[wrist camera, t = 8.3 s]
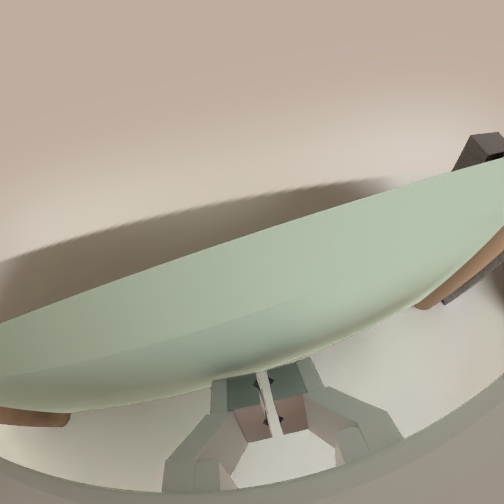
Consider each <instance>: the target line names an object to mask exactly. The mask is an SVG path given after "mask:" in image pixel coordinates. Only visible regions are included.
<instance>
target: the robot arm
mask: <svg viewBox="0 0 504 504" xmlns="http://www.w3.org/2000/svg"><path fill="white" fill-rule="evenodd" d="M267 374H268V379H269V382H270V388H271V392H272V396H273V401H274V404H275V408H276V411H277V415H278V417H279V421H280V425H281V428H282V431H283V434H284V435H285V434H289V433H293V432H298V431H302V430H306V429H309V430H310V431H311V432H313V433H314V434H316V435H317V436H318V437H320V438H321V439H323V440H324V441H325V442H327V443H328V444H330V445H331V446H333V447H334V448H335V456H336V467H334V468H331V469H328V470H325V471H321V472H318V473H314V474H311V475H307V476H303V477H299V478H295V479H291V480H286V481H282V482H277V483H272V484H267V485H261V486H255V487H248V488H241V489H239V488H238V487H237V486H236V484H235V483H234V482H233V480H232V479H231V478H230V476H231V474H232V472H233V470H234V469H235V467H236V465H237V463H238V462H239V460H240V458H241V456H242V454H243V452H244V451H245V449H246V447H247V445H248V443H249V442H254V441H259V440H263V439H267V438H272V432H271V426H270V422H269V419H268V416H267V414H268V411H267V406H266V402H265V398H264V395H263V391H262V389H261V388H260V382H259V379H258V376H257V373H256V372H254V373H249V374H244V375H239V376H234V377H228V378H224V379H218V380H213V381H212V384H211V413H210V414H209V415H206V416H205V417H204V418H203V419H202V421H201V422H200V423H199V424H198V425H197V426H196V428H195V429H194V430H193V431H192V432H191V433H190V434H189V436H188V437H187V438H186V439H185V440H184V441H183V442H182V443H181V445H180V446H179V447H178V448H177V449H176V450H175V451H174V452H173V453H172V455H171V456H170V457H169V458H168V459H167V460H166V462H165V469H164V477H163V484H162V492H144V491H132V490H122V489H114V488H107V487H101V486H95V485H90V484H84V483H80V482H75V481H71V480H67V479H63V478H59V477H55V476H52V475H48V474H45V473H41V472H38V471H35V470H32V469H29V468H26V467H24V466H21V465H18V464H16V463H13V462H11V461H8V460H6V459H3V458H1V457H0V504H504V373H503V374H502V375H501V376H500V377H499V378H497V379H496V380H495V381H494V382H493V383H491V384H490V385H489V386H488V387H486V388H485V389H484V390H482V391H481V392H480V393H478V394H477V395H476V396H474V397H473V398H471V399H470V400H469V401H467V402H466V403H464V404H463V405H461V406H460V407H458V408H457V409H455V410H454V411H452V412H451V413H449V414H448V415H446V416H444V417H443V418H441V419H440V420H438V421H436V422H435V423H433V424H431V425H429V426H428V427H426V428H424V429H422V430H420V431H419V432H417V433H415V434H413V435H411V436H409V437H407V438H405V439H404V438H403V437H402V435H401V433H400V432H399V430H398V429H397V427H396V425H395V424H394V422H393V421H392V419H391V418H390V416H389V414H388V413H387V411H384V410H382V409H379V408H377V407H374V406H372V405H370V404H367V403H365V402H363V401H360V400H358V399H356V398H353V397H351V396H349V395H347V394H344V393H342V392H340V391H338V390H336V389H333V388H331V387H326V388H325V387H324V385H323V383H322V381H321V379H320V376H319V374H318V372H317V370H316V368H315V366H314V363H313V361H312V359H311V358H310V357H309V358H306V359H303V360H299V361H296V362H294V363H290V364H286V365H283V366H279V367H275V368H271V369H267Z"/></svg>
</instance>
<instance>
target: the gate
mask: <svg viewBox="0 0 504 504" xmlns="http://www.w3.org/2000/svg"><path fill="white" fill-rule="evenodd" d="M503 250H504V156H503V158H499V159H495V160H492V161H488V162H485V163H481V164H477V165H474V166H470V167H467V168H463V169H460V170H456V171H453V172H449V173H446V174H442V175H439V176H435V177H432V178H428V179H425V180H422V181H418V182H415V183H411V184H408V185H405V186H401V187H398V188H395V189H391V190H388V191H385V192H381V193H378V194H375V195H372V196H368V197H365V198H362V199H359V200H355V201H352V202H349V203H346V204H342V205H339V206H336V207H333V208H330V209H326V210H323V211H320V212H317V213H314V214H311V215H308V216H304V217H301V218H298V219H295V220H292V221H289V222H286V223H283V224H280V225H276V226H273V227H270V228H267V229H264V230H261V231H258V232H255V233H252V234H249V235H246V236H243V237H240V238H237V239H234V240H231V241H228V242H225V243H222V244H219V245H216V246H213V247H210V248H207V249H204V250H201V251H198V252H195V253H192V254H190V255H187V256H184V257H181V258H178V259H175V260H172V261H169V262H166V263H163V264H161V265H158V266H155V267H152V268H149V269H146V270H143V271H141V272H138V273H135V274H132V275H129V276H126V277H124V278H121V279H118V280H115V281H112V282H110V283H107V284H104V285H101V286H98V287H96V288H93V289H90V290H87V291H85V292H82V293H79V294H77V295H74V296H71V297H68V298H66V299H63V300H60V301H58V302H55V303H52V304H50V305H47V306H44V307H42V308H39V309H36V310H34V311H31V312H28V313H26V314H23V315H21V316H18V317H15V318H13V319H10V320H8V321H5V322H2V323H0V406H2V407H8V408H15V409H22V410H31V411H41V412H54V413H73V412H83V411H87V410H96V409H104V408H111V407H118V406H124V405H131V404H136V403H142V402H147V401H152V400H157V399H162V398H167V397H172V396H176V395H180V394H185V393H189V392H193V391H197V390H201V389H205V388H208V387H211V384H212V381H213V380H218V379H224V378H228V377H234V376H239V375H244V374H249V373H254V372H256V373H259V372H262V371H265V370H267V369H270V368H273V367H276V366H279V365H282V364H285V363H287V362H290V361H293V360H295V359H298V358H301V357H303V356H306V355H308V354H311V353H313V352H316V351H318V350H321V349H323V348H326V347H328V346H330V345H333V344H335V343H337V342H340V341H342V340H344V339H347V338H349V337H351V336H353V335H355V334H358V333H360V332H362V331H364V330H366V329H368V328H370V327H372V326H374V325H377V324H379V323H381V322H383V321H385V320H387V319H389V318H391V317H392V316H394V315H396V314H398V313H400V312H402V311H404V310H406V309H408V308H409V307H411V306H414V307H416V308H418V309H421V310H427V309H430V308H431V307H433V306H434V305H436V304H437V303H439V302H440V301H441V300H443V299H444V298H446V297H447V296H448V295H450V294H451V293H452V292H454V291H455V290H456V289H458V288H459V287H460V286H462V285H463V284H464V283H465V282H467V281H468V280H469V279H471V278H472V277H473V276H474V275H476V274H477V273H478V272H479V271H480V270H482V269H483V268H484V267H485V266H486V265H487V264H489V263H490V262H491V261H492V260H493V259H494V258H496V257H497V256H498V255H499V254H500V253H501V252H502V251H503Z"/></svg>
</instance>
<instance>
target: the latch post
mask: <svg viewBox="0 0 504 504" xmlns="http://www.w3.org/2000/svg"><path fill="white" fill-rule="evenodd" d="M503 156H504V138H503V137H502V136H501V135H500V133H499V132H494V133H486V134H477V135H471V136H470V137H469V139H468V141H467V143H466V145H465V147H464V149H463V151H462V153H461V155H460V157H459V159H458V160H457V162H456V164H455V166H454V168H453V170H452V171H451V172H453V171H456V170H460V169H463V168H467V167H470V166H474V165H477V164H481V163H485V162H488V161H492V160H495V159H499V158H503ZM503 262H504V250H503V251H502V252H501V253H500V254H499V255H498V256H497V257H496V258H494V259H493V260H492V261H491V262H490V263H489V264H487V265H486V266H485V267H484V268H483V269H482V270H480V271H479V272H478V273H477V274H476V275H474V276H473V277H472V278H471V279H469V280H468V281H467V282H465V283H464V284H463V285H462V286H460V287H459V288H458V289H456V290H455V291H454V292H452V293H451V294H450V295H448V296H447V297H446V298H444V299H443V302H444V304H445V305H446V304H448V303H449V302H451V301H452V300H454V299H455V298H457V297H458V296H460V295H461V294H463V293H464V292H466V291H467V290H469V289H470V288H471V287H473V286H474V285H475V284H477V283H478V282H479V281H481V280H482V279H483V278H485V277H486V276H487V275H488V274H490V273H491V272H492V271H493V270H495V269H496V268H497V267H498V266H500V265H501V264H502V263H503Z"/></svg>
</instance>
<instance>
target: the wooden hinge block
mask: <svg viewBox="0 0 504 504" xmlns="http://www.w3.org/2000/svg"><path fill="white" fill-rule="evenodd" d="M69 419H70V413H54V412H41V411H31V410H22V409H15V408H8V407H2V406H0V424H7V425H18V426H35V427H63V426H65V425H66V424H67V423H68V421H69Z"/></svg>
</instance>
